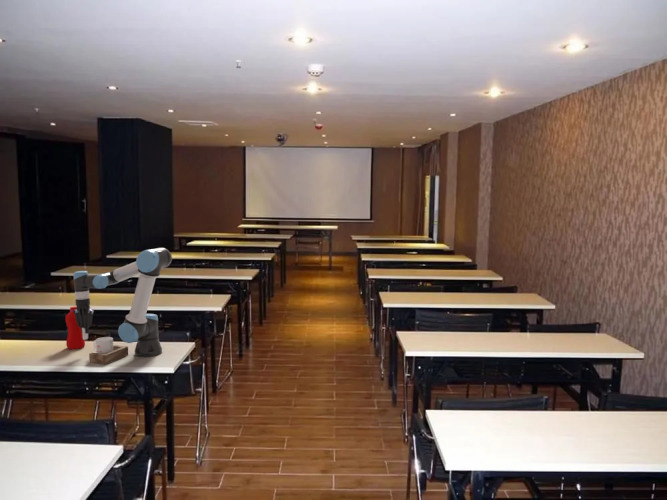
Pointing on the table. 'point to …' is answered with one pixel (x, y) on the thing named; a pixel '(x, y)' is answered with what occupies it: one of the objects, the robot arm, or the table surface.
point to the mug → (103, 345)
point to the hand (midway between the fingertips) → (85, 338)
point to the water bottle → (73, 332)
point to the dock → (109, 355)
